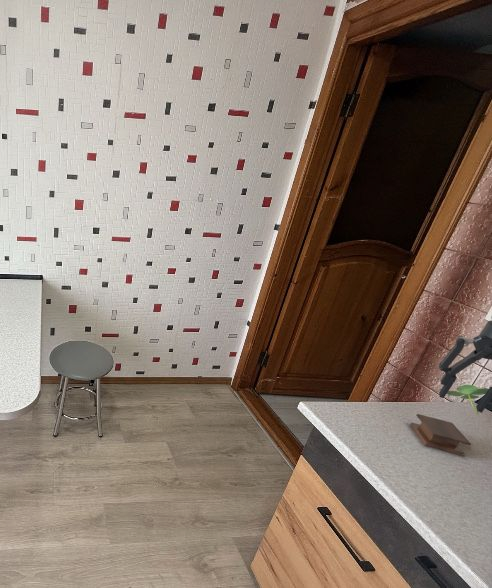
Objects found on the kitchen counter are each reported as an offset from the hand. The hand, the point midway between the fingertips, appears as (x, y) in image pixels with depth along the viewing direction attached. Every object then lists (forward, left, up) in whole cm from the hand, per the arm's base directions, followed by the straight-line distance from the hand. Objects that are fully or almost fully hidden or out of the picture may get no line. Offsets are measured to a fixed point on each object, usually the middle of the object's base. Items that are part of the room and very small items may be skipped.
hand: (459, 402), depth 87 cm
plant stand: (0, +1, -13) cm, 13 cm away
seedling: (0, 0, 0) cm, 1 cm away
